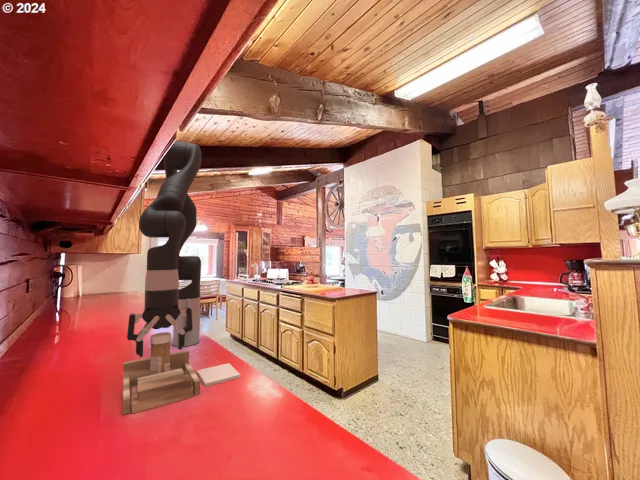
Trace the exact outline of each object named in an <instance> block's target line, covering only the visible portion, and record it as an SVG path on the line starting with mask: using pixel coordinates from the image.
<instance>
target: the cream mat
mask: <svg viewBox="0 0 640 480" xmlns="http://www.w3.org/2000/svg"><path fill="white" fill-rule="evenodd" d="M196 375H197V377H198V378H199V380H200V382H202V383H203V384H202V385H204V387H205V388H207V387H209V386H213V385H217V384H221V383H225V382H230V381H232V380H235V379H240V378H241V373H240V372H239V371H238V370H236V368H235V367H233V365H232V364H231V363H229V362H228V363H224V364H220V365H215V366H210V367H207V368H202V369H198V370H196Z"/></svg>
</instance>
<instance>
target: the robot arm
mask: <svg viewBox="0 0 640 480" xmlns="http://www.w3.org/2000/svg"><path fill="white" fill-rule="evenodd" d="M175 141H176V142H175V143H174V145H173V146H172V147H171V148H170V150H169V151H168V152H167V154H166V155H165V156H163V164H164V172H165V173H164V174H165V180H164V181H163V183H162V184H161V185H160V188H159V189H158V193H157V195H156V198H155V199H154V200H153V201H152V202H151V203H150V204H149V205H148V206H147V207H145V209H144V210H143V211H142V213H141V215H140V217H139V220H138V228H139V231H140V233H141V234H142V235H143V236H145V237H147V238H154V239H155V238H162V239H163V238H168V239H167V241H166V242H165V243H164V244H162V245H158V246H153V247H150V248H148V250H147V252H146V253H147V254H146V272H145V279H144V280H145V281H144V310H143V312H142V313H134V312H131V313H130V314H129V315H128V324H127V334H126V337H127V338H126V339H127V340H128V341H135V354H136V356H138V357H139V358H142V357H144V338H145V337H146V336H147V335H148V333H149V332H150V331H152V330H161V329H169V328H170V327H172V345H173V346H174V347H177V350H182V349H183V347H190V346H193V345H196V344H198V343H200V339H201V338H200V335H201V334H200V333H201V277H202V274H201V273H202V260H201V258H200V256H199V255H198V256H197V255H186V256H185V255H180V253H181V250H182V248H183V246H184V245H185V243H186V242H187V240H189V237H190V236H191V235H193V234H192V233H194V231H195V229H196V227H197V222H198V221H197V220H198V218H197V214H198V213H197V207H196V205H195V202H194V201H193V199H192V198H191V197H190V195H189V194H188V192H189V190H190V187H191V185H192V183H193V182H194V181H195V178H196V177H197V175H198V172H199V171H200V168H201V165H202V150H201V148H200V146H199V144H196V143H193V142H186V141H179V140H175ZM188 280H189V281H191V282H190V283H189V284H188V285H186V286H185V287H182V288H179V287H180V281H188ZM141 319H143V321H144V323H145V324H144V325H143V327H142V328H141V330H140V331H139V332H138V333H137V334H136V333H135V325H136V324H137V323H138V322H139V321H140V320H141Z"/></svg>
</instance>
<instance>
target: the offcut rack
mask: <svg viewBox="0 0 640 480" xmlns="http://www.w3.org/2000/svg"><path fill="white" fill-rule="evenodd" d="M150 359H151V356H150V357H147V358H146V357H145V358H140V359H134V360H129V361H124V362H123V374H122V377H123V380H122V416H124V414H126V415H128V414H127V413H129V414H130V410H131V414H132V413H133V414H136V413H140V412H143V411H147V410H151V409H154V408H157V407H162V406H165V405H168V404H172V403H174V402H175V403H176V402H178V401H183V400H186V399H190V398H194V396H197V395H201V379H200V377H199V376H198V374H197V372H196V371H195V370H194V369H193V367H192V365H191V364H190V351H189V350H187V349H186V350H183V351H177V352H172V353H171V352H170V371H168V372H163V373H159V374H154V375H150ZM132 387H137V394H136V395H131V397H130V393H131V391H130V388H132ZM130 405H131V406H130ZM130 407H131V408H130Z"/></svg>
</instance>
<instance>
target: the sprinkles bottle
mask: <svg viewBox="0 0 640 480" xmlns="http://www.w3.org/2000/svg"><path fill="white" fill-rule="evenodd" d="M149 340H150V341H149V343H150V357H151V359H150V375H154V374H159V373H163V372H168V371H170V354H171V341H172V334H171V332H163V331H162V332H157V333H154V334H152V335H150V339H149Z"/></svg>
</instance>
